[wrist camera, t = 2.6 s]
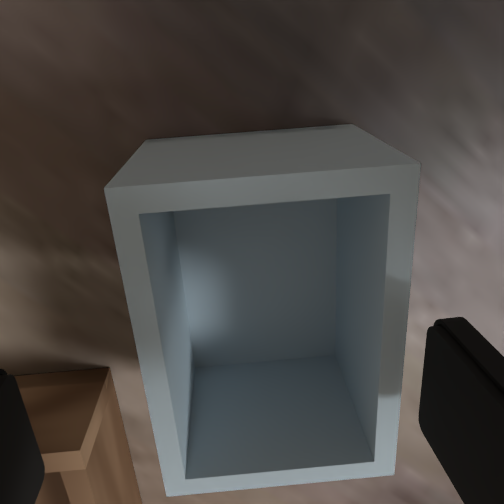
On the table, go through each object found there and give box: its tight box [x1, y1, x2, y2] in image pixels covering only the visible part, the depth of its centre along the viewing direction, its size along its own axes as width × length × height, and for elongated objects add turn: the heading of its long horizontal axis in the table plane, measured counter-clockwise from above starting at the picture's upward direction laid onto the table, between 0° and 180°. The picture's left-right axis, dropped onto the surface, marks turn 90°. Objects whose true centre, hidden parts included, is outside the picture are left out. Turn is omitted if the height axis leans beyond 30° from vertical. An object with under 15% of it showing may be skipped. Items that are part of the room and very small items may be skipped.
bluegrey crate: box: [104, 124, 421, 497], centre depth 14 cm, size 6×9×6 cm
